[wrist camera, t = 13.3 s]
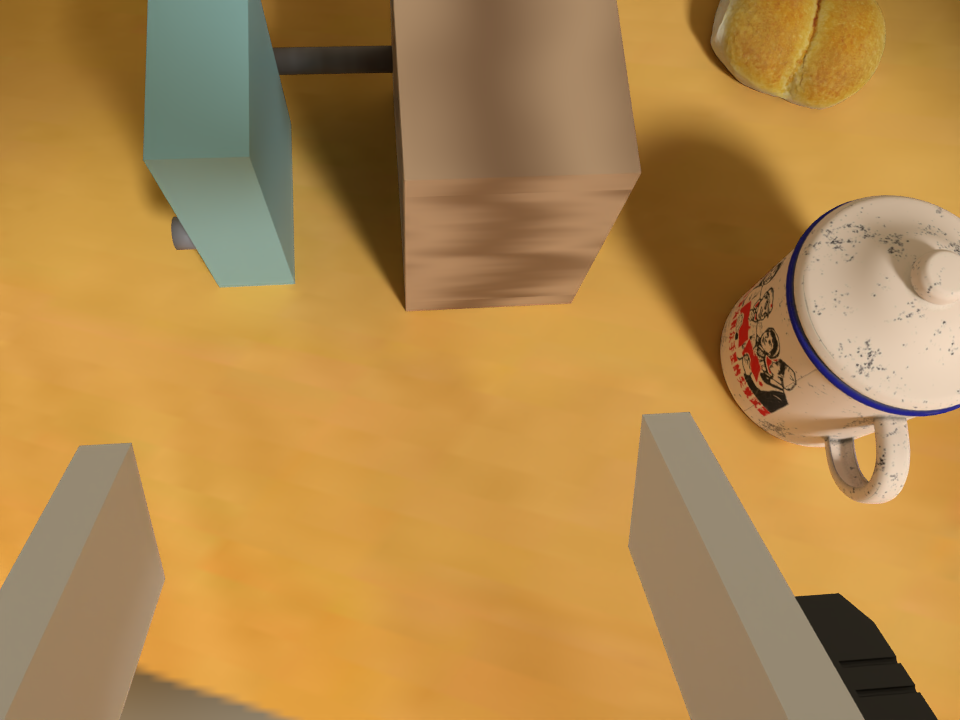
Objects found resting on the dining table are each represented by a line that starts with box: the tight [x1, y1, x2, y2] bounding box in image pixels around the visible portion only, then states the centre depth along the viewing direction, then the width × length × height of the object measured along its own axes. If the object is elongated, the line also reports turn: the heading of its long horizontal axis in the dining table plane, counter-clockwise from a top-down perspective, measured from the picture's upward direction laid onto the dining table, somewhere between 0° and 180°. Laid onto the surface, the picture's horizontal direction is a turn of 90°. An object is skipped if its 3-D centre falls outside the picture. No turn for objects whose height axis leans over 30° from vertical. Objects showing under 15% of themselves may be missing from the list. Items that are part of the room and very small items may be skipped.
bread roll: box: [711, 0, 886, 109], centre depth 45 cm, size 8×9×4 cm
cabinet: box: [273, 0, 641, 311], centre depth 36 cm, size 14×12×13 cm
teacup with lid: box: [720, 195, 960, 504], centre depth 35 cm, size 12×9×12 cm
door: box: [143, 0, 295, 287], centre depth 36 cm, size 4×9×12 cm, turn 5°
